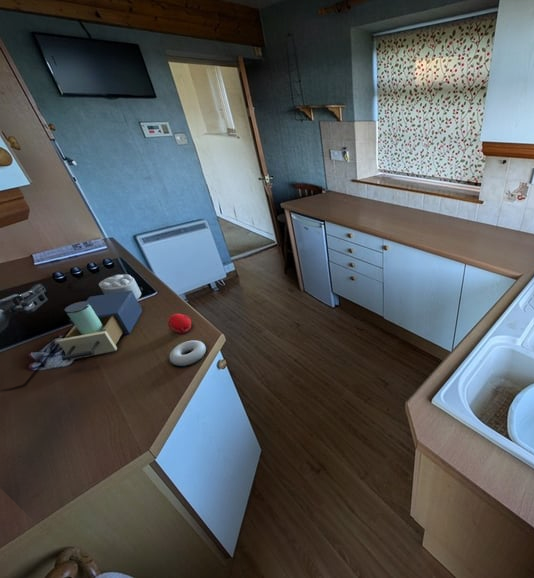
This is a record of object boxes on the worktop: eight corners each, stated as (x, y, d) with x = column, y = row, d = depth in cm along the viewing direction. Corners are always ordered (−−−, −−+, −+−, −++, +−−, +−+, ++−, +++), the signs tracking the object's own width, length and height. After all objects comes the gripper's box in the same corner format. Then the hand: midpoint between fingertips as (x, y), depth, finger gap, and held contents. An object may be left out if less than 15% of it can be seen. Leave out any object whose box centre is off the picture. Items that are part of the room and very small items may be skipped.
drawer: (109, 363, 90) (96, 345, 86) (61, 372, 86) (46, 354, 82) (130, 325, 105) (120, 308, 101) (90, 332, 102) (78, 315, 98)
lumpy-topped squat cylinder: (132, 287, 129) (123, 269, 124) (147, 295, 123) (138, 277, 119) (103, 298, 121) (93, 280, 117) (118, 307, 116) (107, 289, 111)
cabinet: (129, 333, 103) (117, 312, 98) (84, 342, 99) (69, 320, 94) (142, 310, 114) (132, 290, 110) (102, 317, 111) (89, 296, 106)
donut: (185, 372, 88) (214, 351, 96) (181, 364, 87) (210, 343, 94) (164, 362, 92) (193, 342, 100) (160, 354, 90) (190, 334, 98)
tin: (85, 348, 93) (60, 313, 86) (93, 337, 98) (70, 303, 90) (106, 344, 95) (83, 309, 88) (113, 333, 99) (92, 299, 92)
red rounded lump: (198, 327, 106) (192, 314, 103) (182, 337, 102) (176, 323, 98) (183, 321, 109) (177, 308, 106) (167, 330, 104) (161, 317, 101)
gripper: (-69, 353, 58) (-10, 308, 71) (25, 337, 62) (64, 297, 75) (-102, 323, 54) (-33, 281, 67) (1, 308, 58) (47, 272, 71)
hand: (18, 290), depth 71 cm, fingers open, 8 cm apart
